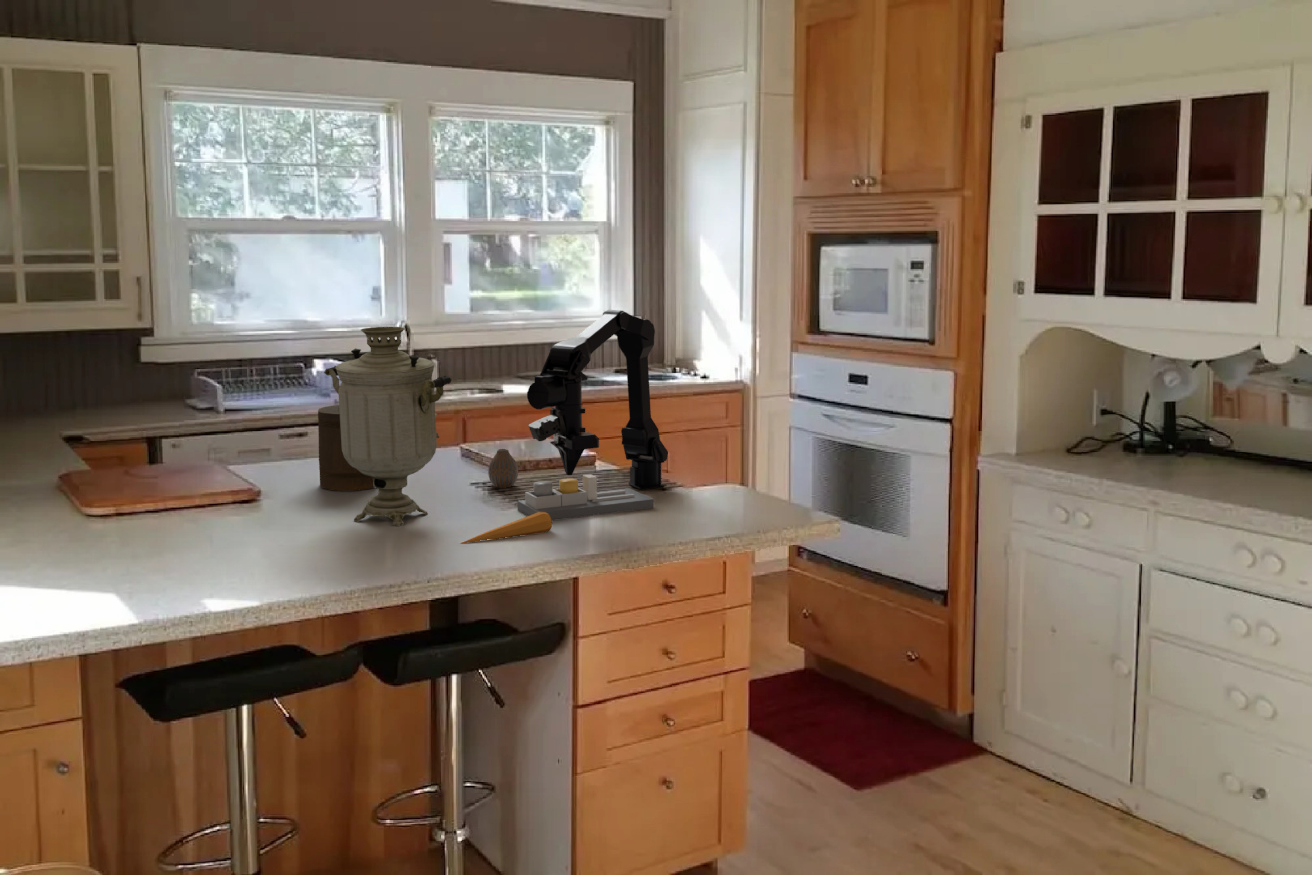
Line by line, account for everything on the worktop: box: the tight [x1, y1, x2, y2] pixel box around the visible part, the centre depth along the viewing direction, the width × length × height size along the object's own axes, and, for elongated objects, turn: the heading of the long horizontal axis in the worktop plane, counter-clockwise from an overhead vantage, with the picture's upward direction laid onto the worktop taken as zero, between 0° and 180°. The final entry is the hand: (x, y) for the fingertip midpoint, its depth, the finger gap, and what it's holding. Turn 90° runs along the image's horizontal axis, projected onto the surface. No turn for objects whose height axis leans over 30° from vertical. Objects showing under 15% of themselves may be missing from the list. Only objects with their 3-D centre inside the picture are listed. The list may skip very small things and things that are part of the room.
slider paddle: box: [582, 473, 598, 500], centre depth 272 cm, size 2×3×5 cm, turn 28°
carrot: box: [461, 512, 553, 544], centre depth 249 cm, size 20×4×4 cm, turn 122°
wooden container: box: [317, 404, 376, 492], centre depth 293 cm, size 15×15×22 cm
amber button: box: [558, 478, 579, 494], centre depth 270 cm, size 4×4×3 cm
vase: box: [487, 448, 519, 489], centre depth 293 cm, size 7×7×9 cm
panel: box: [517, 487, 655, 521], centre depth 272 cm, size 27×12×4 cm, turn 118°
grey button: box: [532, 480, 553, 497], centre depth 267 cm, size 4×4×3 cm
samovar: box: [323, 326, 452, 527], centre depth 262 cm, size 30×26×40 cm
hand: (569, 475), depth 269 cm, fingers closed
